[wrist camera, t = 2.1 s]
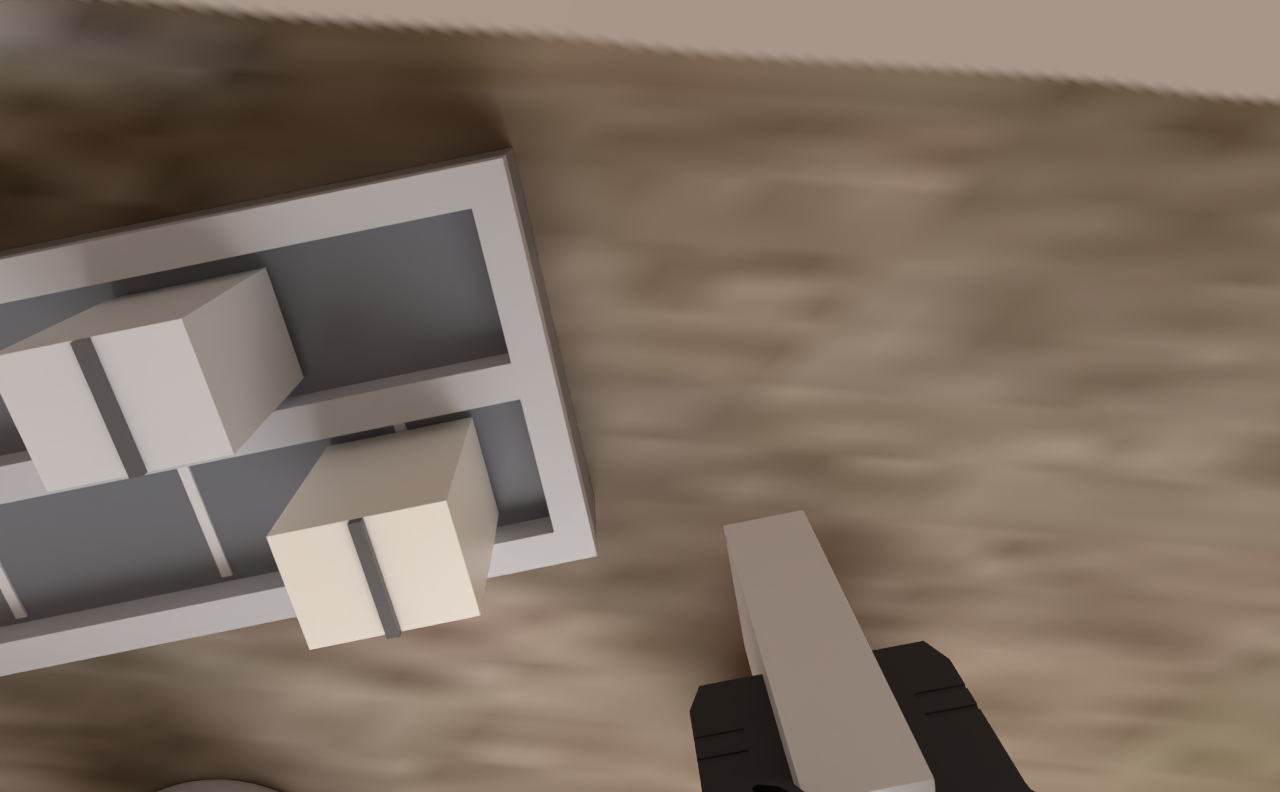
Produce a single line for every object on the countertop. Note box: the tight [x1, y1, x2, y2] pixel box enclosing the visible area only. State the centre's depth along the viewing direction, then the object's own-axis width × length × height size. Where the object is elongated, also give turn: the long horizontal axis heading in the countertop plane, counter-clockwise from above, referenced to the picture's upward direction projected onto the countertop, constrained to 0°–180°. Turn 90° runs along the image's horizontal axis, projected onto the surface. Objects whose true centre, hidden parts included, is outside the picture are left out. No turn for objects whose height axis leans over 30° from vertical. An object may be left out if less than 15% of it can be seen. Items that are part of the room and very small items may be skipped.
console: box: [0, 147, 597, 676], centre depth 24 cm, size 27×11×3 cm, turn 101°
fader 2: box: [266, 417, 499, 650], centre depth 22 cm, size 4×3×5 cm
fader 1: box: [0, 267, 304, 492], centre depth 20 cm, size 4×3×5 cm
